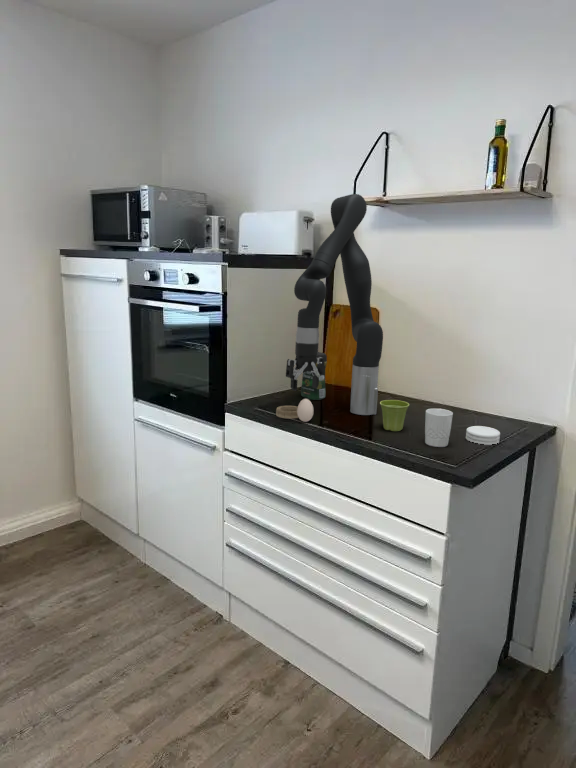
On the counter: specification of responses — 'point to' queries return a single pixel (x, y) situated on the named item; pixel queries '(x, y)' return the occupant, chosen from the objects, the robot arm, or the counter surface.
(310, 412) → the egg
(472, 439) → the white jar lid
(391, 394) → the counter surface
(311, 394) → the coffee jar
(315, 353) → the robot arm
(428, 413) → the white cup
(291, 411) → the egg holder
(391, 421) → the plant pot
